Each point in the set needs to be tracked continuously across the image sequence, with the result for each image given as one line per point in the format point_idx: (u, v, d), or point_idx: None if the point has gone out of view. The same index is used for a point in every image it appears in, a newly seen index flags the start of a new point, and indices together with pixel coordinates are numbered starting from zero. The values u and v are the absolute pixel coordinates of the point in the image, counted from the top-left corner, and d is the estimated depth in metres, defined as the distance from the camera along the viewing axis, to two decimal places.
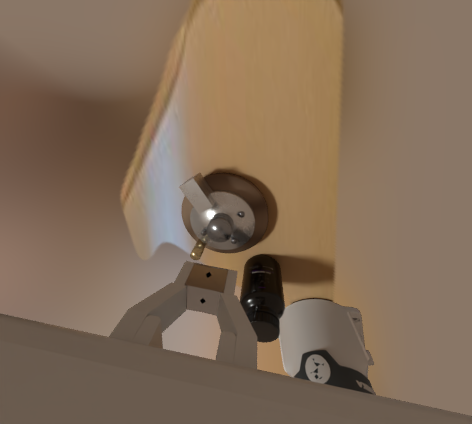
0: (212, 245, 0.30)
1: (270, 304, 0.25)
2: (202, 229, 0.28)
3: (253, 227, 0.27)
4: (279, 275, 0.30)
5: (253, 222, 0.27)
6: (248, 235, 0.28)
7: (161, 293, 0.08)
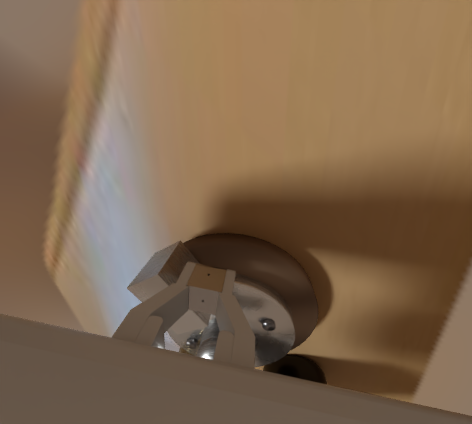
0: None
1: None
2: (188, 337, 0.15)
3: (291, 343, 0.13)
4: None
5: (292, 336, 0.13)
6: (279, 353, 0.14)
7: (163, 293, 0.08)
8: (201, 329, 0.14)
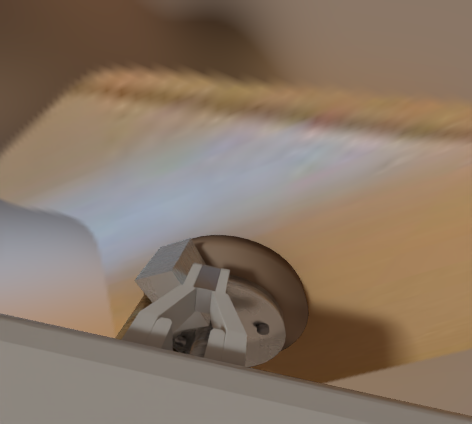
0: None
1: None
2: (179, 334, 0.15)
3: (279, 348, 0.14)
4: None
5: (281, 342, 0.14)
6: (265, 356, 0.15)
7: (171, 295, 0.08)
8: (194, 327, 0.14)
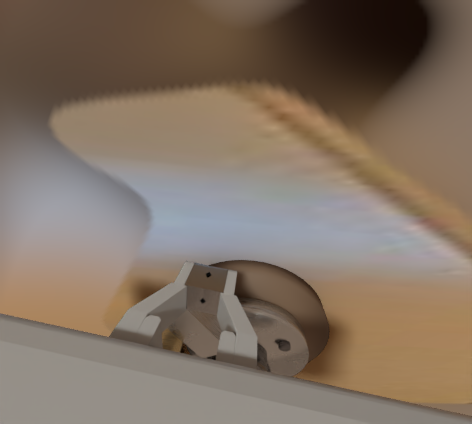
0: None
1: None
2: (208, 356, 0.16)
3: (305, 361, 0.14)
4: None
5: (306, 355, 0.14)
6: (293, 370, 0.15)
7: (161, 293, 0.08)
8: None
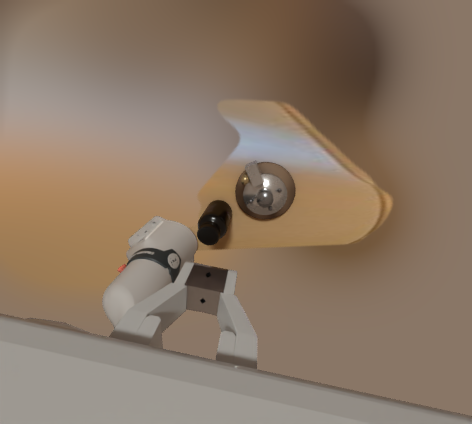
0: (254, 211, 0.43)
1: (220, 234, 0.40)
2: (250, 199, 0.42)
3: (285, 200, 0.41)
4: None
5: (286, 196, 0.41)
6: (281, 205, 0.42)
7: (161, 293, 0.08)
8: (256, 194, 0.41)
